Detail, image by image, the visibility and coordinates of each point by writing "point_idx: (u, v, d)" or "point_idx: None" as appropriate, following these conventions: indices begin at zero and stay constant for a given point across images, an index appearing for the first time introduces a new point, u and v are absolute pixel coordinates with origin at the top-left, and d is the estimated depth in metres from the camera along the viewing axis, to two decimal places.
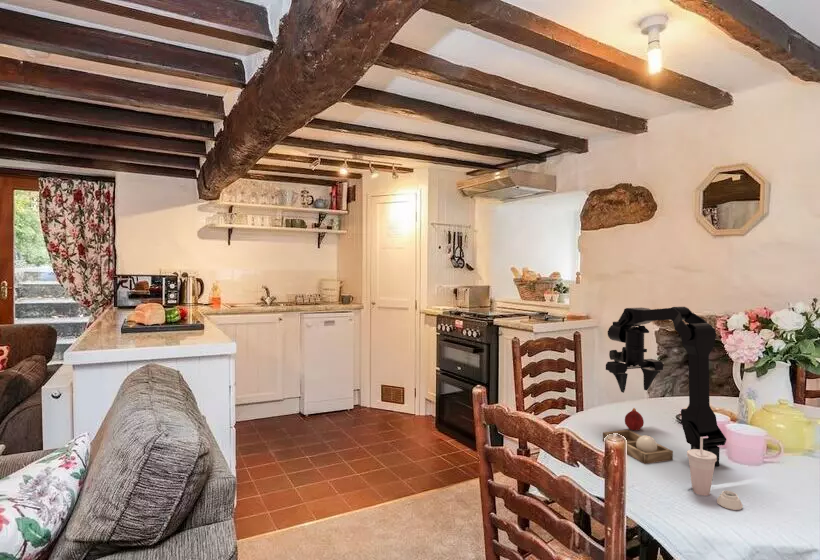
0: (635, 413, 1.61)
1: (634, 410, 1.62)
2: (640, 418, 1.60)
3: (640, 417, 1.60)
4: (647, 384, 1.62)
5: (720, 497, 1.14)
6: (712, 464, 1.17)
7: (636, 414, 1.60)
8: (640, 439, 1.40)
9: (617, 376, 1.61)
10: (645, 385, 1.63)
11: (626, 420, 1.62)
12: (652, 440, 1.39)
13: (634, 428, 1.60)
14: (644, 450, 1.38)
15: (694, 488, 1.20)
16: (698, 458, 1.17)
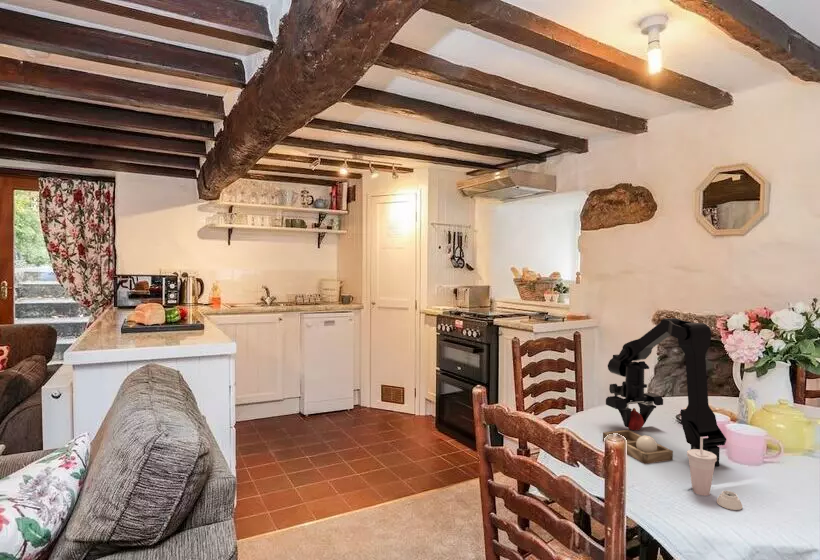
0: (635, 413, 1.61)
1: (634, 410, 1.62)
2: (640, 418, 1.60)
3: (640, 417, 1.60)
4: (643, 419, 1.62)
5: (720, 497, 1.14)
6: (712, 464, 1.17)
7: (636, 414, 1.60)
8: (640, 439, 1.40)
9: (621, 411, 1.61)
10: None
11: None
12: (652, 440, 1.39)
13: (634, 428, 1.60)
14: (644, 450, 1.38)
15: (694, 488, 1.20)
16: (698, 458, 1.17)
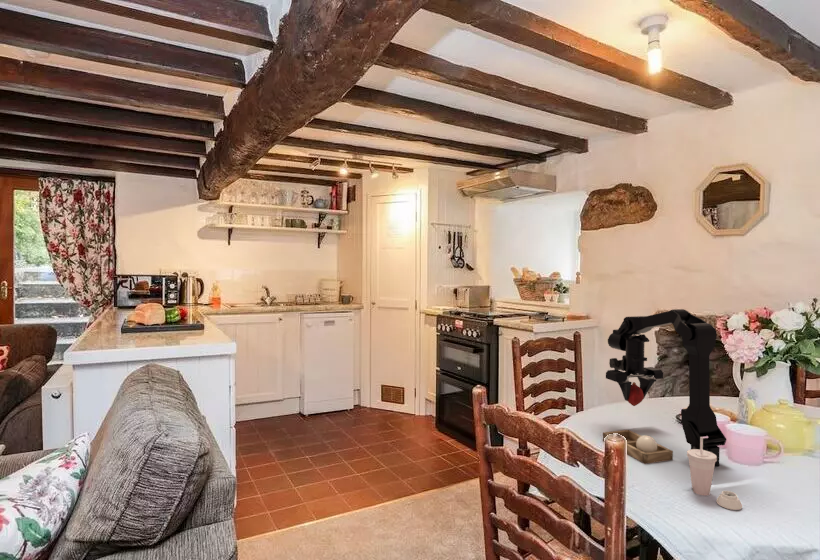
0: (635, 387, 1.61)
1: (634, 384, 1.61)
2: (640, 391, 1.60)
3: (640, 391, 1.60)
4: (643, 393, 1.62)
5: (720, 497, 1.14)
6: (712, 464, 1.17)
7: (636, 388, 1.60)
8: (640, 439, 1.40)
9: (621, 384, 1.61)
10: None
11: None
12: (652, 440, 1.39)
13: (634, 402, 1.60)
14: (644, 450, 1.38)
15: (694, 488, 1.20)
16: (698, 458, 1.17)
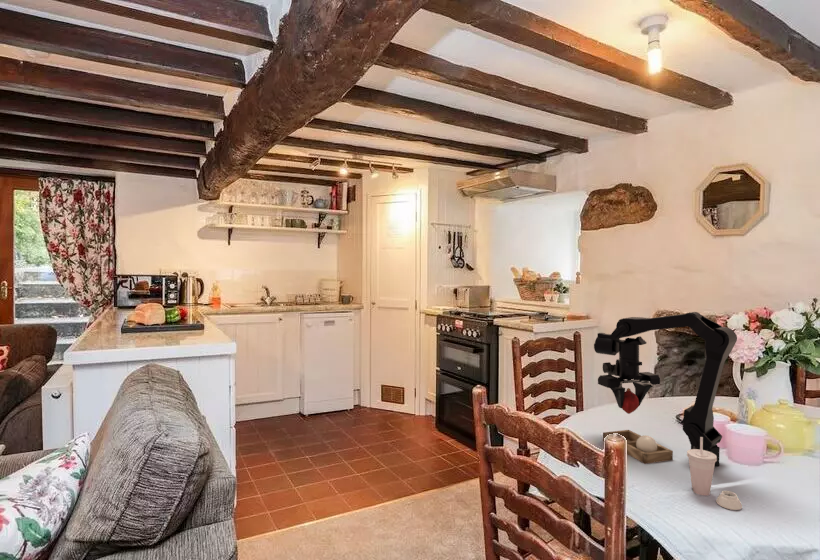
0: (629, 393, 1.50)
1: (628, 390, 1.51)
2: (635, 398, 1.49)
3: (635, 397, 1.49)
4: (639, 400, 1.51)
5: (719, 497, 1.14)
6: (712, 464, 1.17)
7: (630, 394, 1.50)
8: (640, 439, 1.40)
9: (614, 390, 1.51)
10: None
11: None
12: (652, 440, 1.39)
13: (628, 409, 1.49)
14: (644, 450, 1.38)
15: (694, 488, 1.20)
16: (698, 458, 1.17)
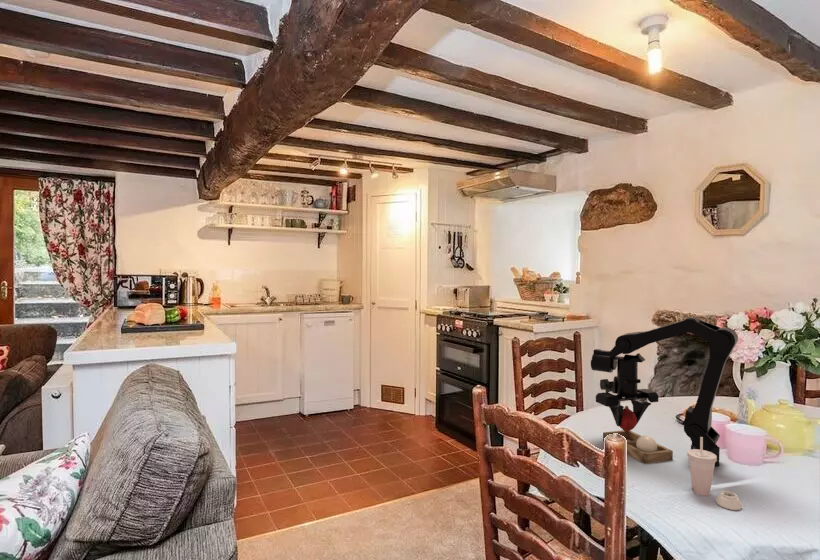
0: (627, 411, 1.47)
1: (626, 408, 1.48)
2: (633, 416, 1.46)
3: (633, 415, 1.46)
4: (637, 418, 1.48)
5: (719, 497, 1.14)
6: (712, 464, 1.17)
7: (629, 412, 1.47)
8: (640, 439, 1.40)
9: (612, 408, 1.48)
10: None
11: None
12: (652, 440, 1.39)
13: (626, 427, 1.46)
14: (644, 450, 1.38)
15: (694, 488, 1.20)
16: (698, 458, 1.17)
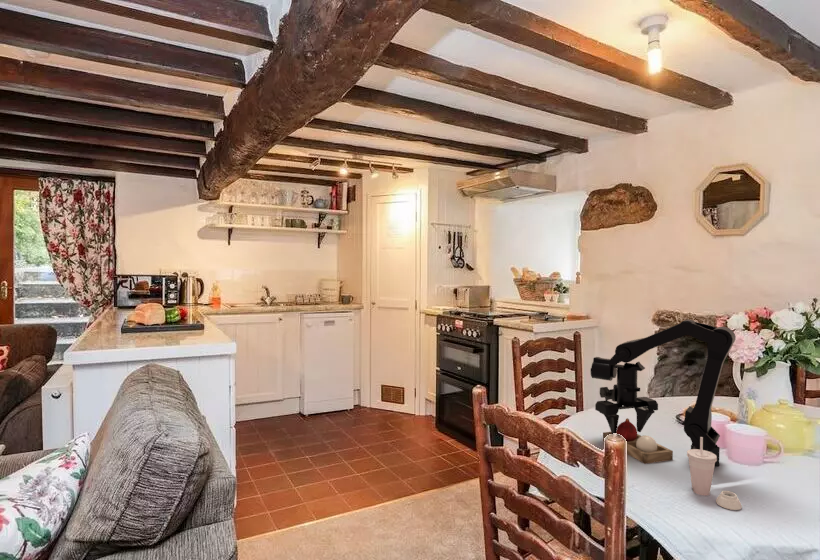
0: (628, 424, 1.47)
1: (627, 421, 1.48)
2: (634, 429, 1.46)
3: (633, 429, 1.46)
4: (640, 425, 1.49)
5: (719, 497, 1.14)
6: (712, 464, 1.17)
7: (629, 425, 1.47)
8: (640, 439, 1.40)
9: (608, 417, 1.47)
10: (638, 426, 1.50)
11: (618, 431, 1.48)
12: (652, 440, 1.39)
13: (626, 440, 1.46)
14: (644, 450, 1.38)
15: (694, 488, 1.20)
16: (698, 458, 1.17)
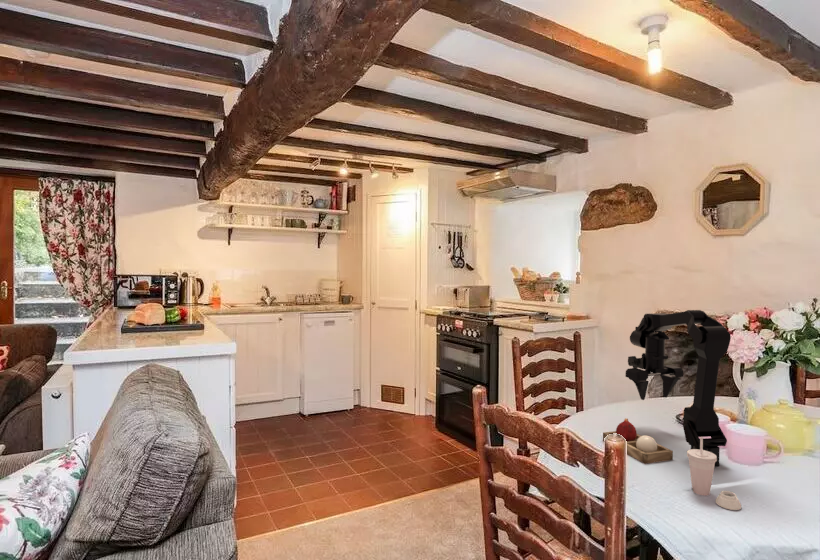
0: (627, 424, 1.47)
1: (626, 420, 1.48)
2: (633, 429, 1.46)
3: (633, 428, 1.47)
4: (667, 391, 1.59)
5: (719, 497, 1.14)
6: (712, 464, 1.17)
7: (628, 425, 1.47)
8: (640, 439, 1.40)
9: (637, 383, 1.57)
10: (665, 392, 1.60)
11: (617, 431, 1.48)
12: (652, 440, 1.39)
13: (626, 440, 1.46)
14: (644, 450, 1.38)
15: (694, 488, 1.20)
16: (698, 458, 1.17)
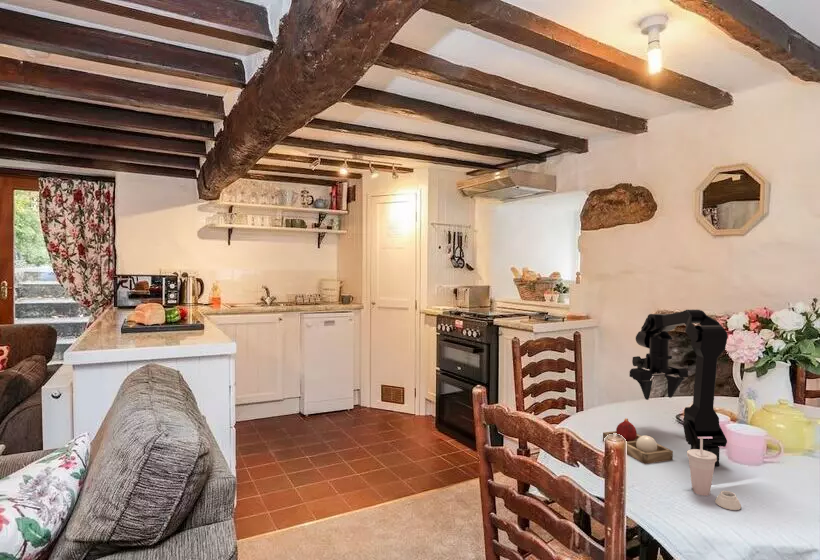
0: (627, 424, 1.47)
1: (626, 420, 1.48)
2: (633, 429, 1.46)
3: (633, 428, 1.47)
4: (671, 391, 1.60)
5: (718, 497, 1.14)
6: (712, 464, 1.17)
7: (628, 425, 1.47)
8: (640, 439, 1.40)
9: (641, 383, 1.58)
10: (669, 392, 1.60)
11: (617, 431, 1.48)
12: (652, 440, 1.39)
13: (626, 440, 1.46)
14: (644, 450, 1.38)
15: (694, 488, 1.20)
16: (698, 458, 1.17)
